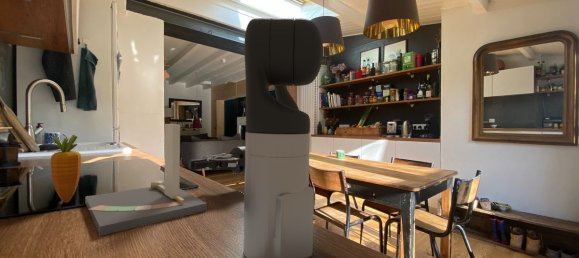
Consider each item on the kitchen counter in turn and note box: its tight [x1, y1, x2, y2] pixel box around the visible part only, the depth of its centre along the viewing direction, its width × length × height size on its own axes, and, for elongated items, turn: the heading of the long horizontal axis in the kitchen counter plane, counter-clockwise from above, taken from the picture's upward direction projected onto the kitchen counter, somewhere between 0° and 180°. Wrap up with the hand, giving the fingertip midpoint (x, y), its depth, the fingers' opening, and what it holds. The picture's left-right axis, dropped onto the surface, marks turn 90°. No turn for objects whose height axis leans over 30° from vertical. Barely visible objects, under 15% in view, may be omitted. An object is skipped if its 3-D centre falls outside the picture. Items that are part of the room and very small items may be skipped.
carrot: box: [50, 134, 82, 204], centre depth 55 cm, size 5×5×15 cm
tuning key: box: [150, 123, 184, 203], centre depth 58 cm, size 18×3×16 cm, turn 44°
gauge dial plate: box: [85, 186, 208, 237], centre depth 54 cm, size 21×18×2 cm
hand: (189, 165), depth 60 cm, fingers closed
